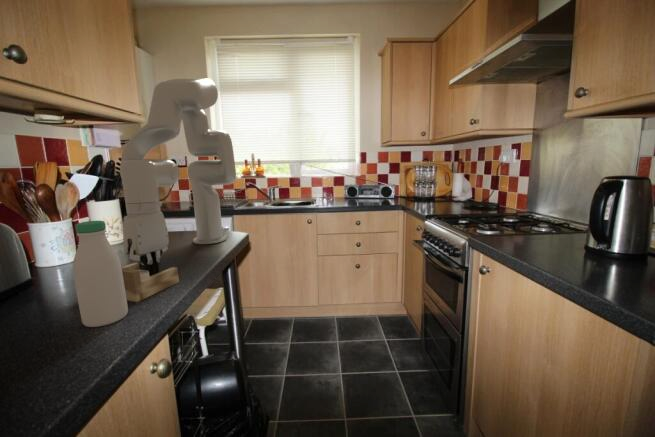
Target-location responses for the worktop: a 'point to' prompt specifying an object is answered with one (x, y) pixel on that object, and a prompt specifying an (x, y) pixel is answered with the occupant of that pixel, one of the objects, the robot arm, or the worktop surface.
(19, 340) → the worktop surface
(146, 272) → the cream egg shape
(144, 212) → the robot arm
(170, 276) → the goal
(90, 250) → the milk bottle
